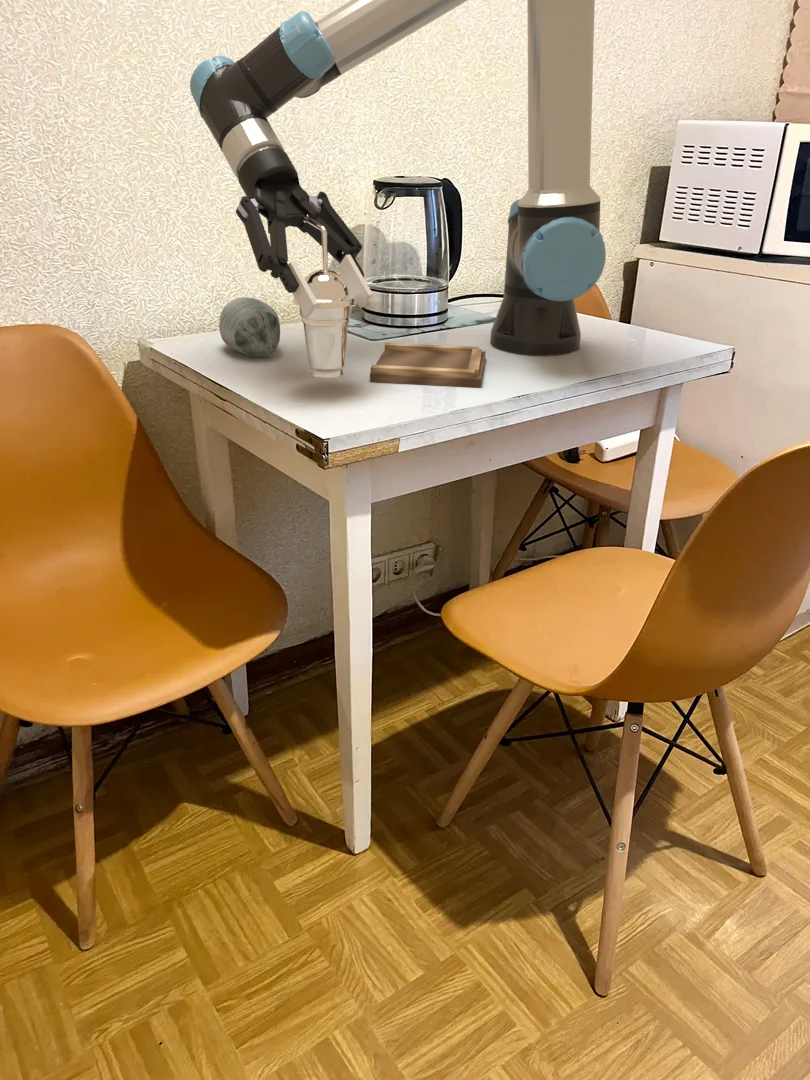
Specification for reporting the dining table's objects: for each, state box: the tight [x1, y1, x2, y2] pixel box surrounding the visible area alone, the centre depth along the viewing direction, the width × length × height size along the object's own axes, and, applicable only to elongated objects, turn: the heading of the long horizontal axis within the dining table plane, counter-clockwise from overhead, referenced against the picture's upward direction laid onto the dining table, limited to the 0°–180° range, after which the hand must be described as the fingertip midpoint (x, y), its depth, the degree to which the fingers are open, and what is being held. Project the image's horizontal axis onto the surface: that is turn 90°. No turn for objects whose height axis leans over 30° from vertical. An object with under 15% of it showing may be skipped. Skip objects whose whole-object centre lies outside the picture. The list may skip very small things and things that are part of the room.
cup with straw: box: [292, 215, 357, 379], centre depth 109 cm, size 8×9×20 cm
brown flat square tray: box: [369, 342, 486, 389], centre depth 124 cm, size 16×16×2 cm
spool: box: [218, 296, 281, 358], centre depth 132 cm, size 14×10×10 cm
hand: (339, 305), depth 107 cm, fingers closed on cup with straw, 8 cm apart
